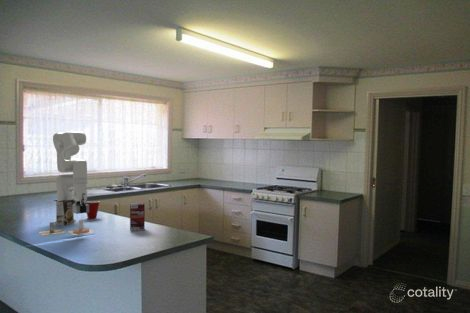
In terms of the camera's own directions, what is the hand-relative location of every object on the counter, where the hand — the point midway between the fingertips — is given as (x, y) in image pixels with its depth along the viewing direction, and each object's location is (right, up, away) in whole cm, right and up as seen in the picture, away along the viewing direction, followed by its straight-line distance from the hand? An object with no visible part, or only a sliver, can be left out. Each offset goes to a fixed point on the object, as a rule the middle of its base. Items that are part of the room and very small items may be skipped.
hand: (80, 211), depth 214 cm
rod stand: (-17, -13, 0) cm, 21 cm away
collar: (0, 0, 0) cm, 0 cm away
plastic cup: (-11, -12, +47) cm, 50 cm away
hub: (0, -13, +1) cm, 13 cm away
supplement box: (+30, -13, +10) cm, 34 cm away
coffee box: (-19, -13, +22) cm, 32 cm away
